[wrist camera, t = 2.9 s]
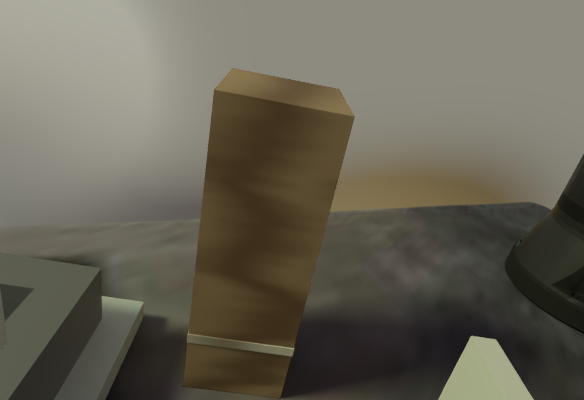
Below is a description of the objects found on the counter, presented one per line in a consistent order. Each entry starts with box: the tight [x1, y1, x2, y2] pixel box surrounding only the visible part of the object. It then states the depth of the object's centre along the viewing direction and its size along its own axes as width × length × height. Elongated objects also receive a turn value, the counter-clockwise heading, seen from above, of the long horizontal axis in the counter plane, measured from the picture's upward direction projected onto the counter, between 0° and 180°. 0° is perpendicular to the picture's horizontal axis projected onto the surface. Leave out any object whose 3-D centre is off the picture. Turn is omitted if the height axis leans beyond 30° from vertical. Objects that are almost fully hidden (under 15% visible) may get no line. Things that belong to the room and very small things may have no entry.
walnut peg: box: [183, 68, 355, 398], centre depth 24 cm, size 6×6×18 cm
